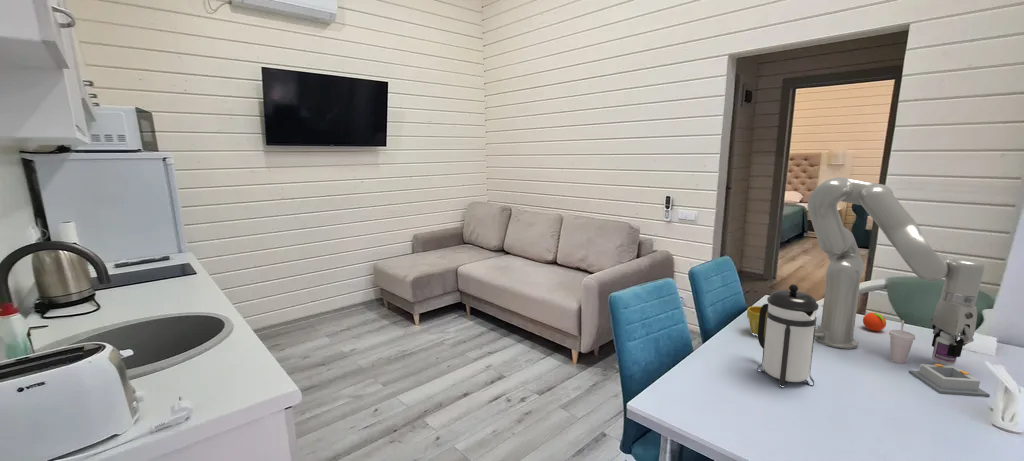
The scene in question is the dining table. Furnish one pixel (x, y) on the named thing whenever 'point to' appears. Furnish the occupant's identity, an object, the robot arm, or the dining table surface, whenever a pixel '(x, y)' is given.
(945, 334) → the pill bottle
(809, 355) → the coffee press
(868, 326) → the clementine
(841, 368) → the dining table surface
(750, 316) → the plant pot
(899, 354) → the smoothie
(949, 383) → the socket
